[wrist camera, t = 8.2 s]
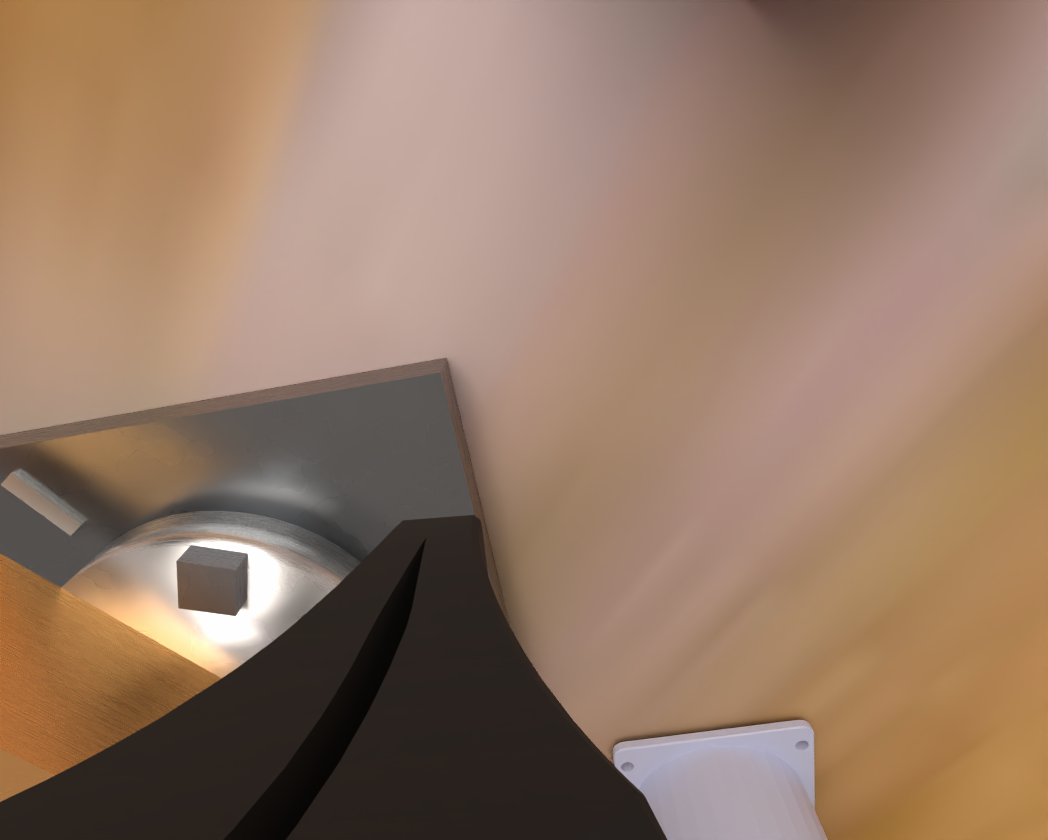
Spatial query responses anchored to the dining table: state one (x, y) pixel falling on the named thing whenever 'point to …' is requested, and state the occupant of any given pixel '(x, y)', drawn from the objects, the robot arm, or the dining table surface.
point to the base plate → (246, 467)
